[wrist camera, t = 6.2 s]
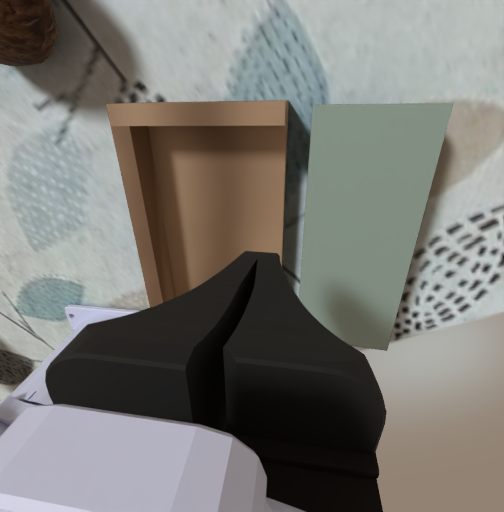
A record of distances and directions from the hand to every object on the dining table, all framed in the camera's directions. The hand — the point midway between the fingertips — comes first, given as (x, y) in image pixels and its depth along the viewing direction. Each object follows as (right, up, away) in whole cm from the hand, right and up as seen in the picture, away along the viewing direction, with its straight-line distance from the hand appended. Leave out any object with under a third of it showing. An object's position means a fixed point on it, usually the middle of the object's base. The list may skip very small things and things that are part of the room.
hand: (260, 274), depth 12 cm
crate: (-3, +3, +9) cm, 10 cm away
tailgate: (+3, +2, +7) cm, 8 cm away
